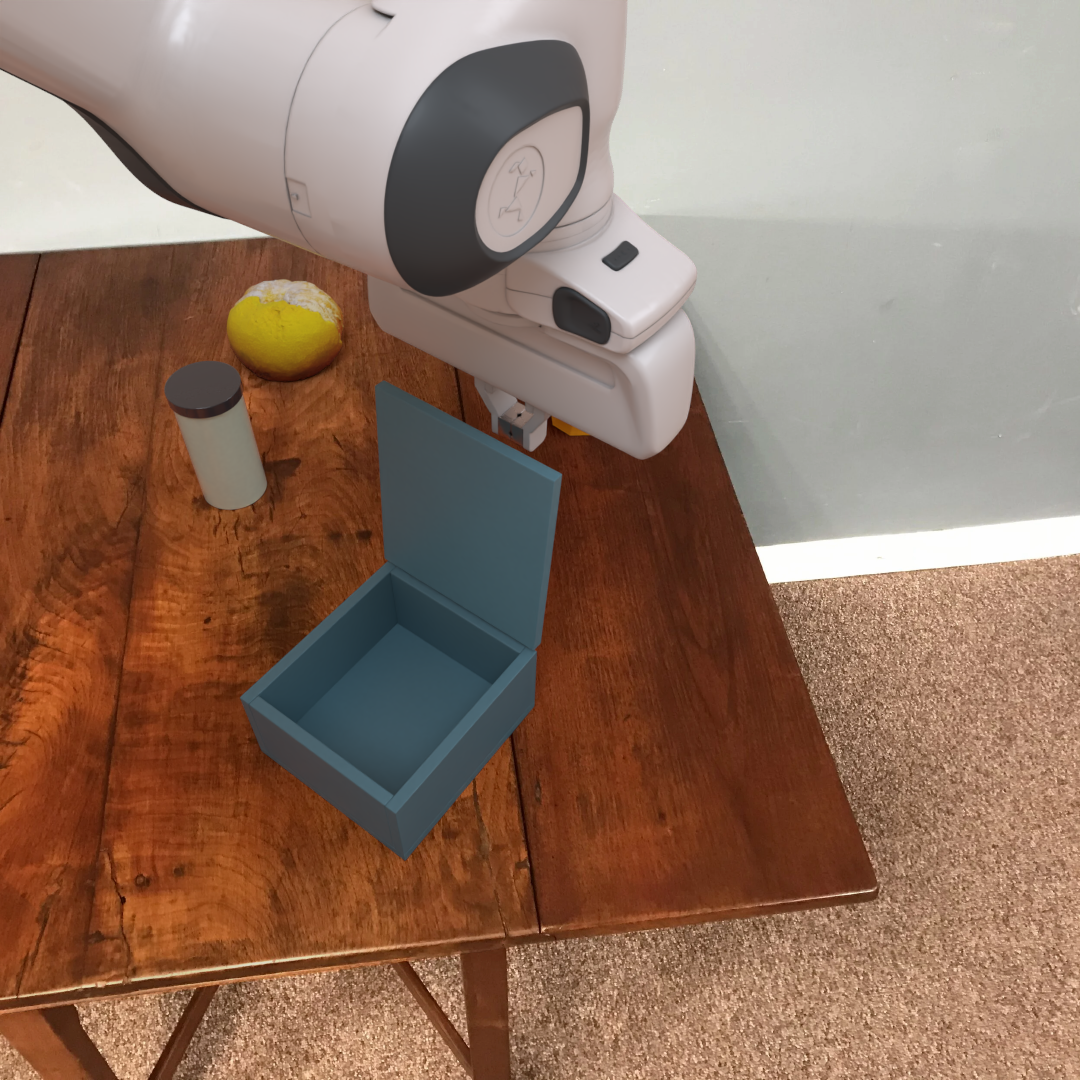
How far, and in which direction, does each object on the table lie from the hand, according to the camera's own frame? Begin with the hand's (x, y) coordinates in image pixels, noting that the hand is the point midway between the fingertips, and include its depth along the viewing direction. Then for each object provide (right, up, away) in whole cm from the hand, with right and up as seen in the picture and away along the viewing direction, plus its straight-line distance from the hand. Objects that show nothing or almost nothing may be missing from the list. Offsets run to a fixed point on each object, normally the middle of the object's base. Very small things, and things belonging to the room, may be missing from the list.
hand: (519, 436), depth 58 cm
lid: (-4, -5, -1) cm, 7 cm away
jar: (-24, -2, +20) cm, 31 cm away
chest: (-8, -19, +6) cm, 22 cm away
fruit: (-22, +12, +32) cm, 41 cm away
